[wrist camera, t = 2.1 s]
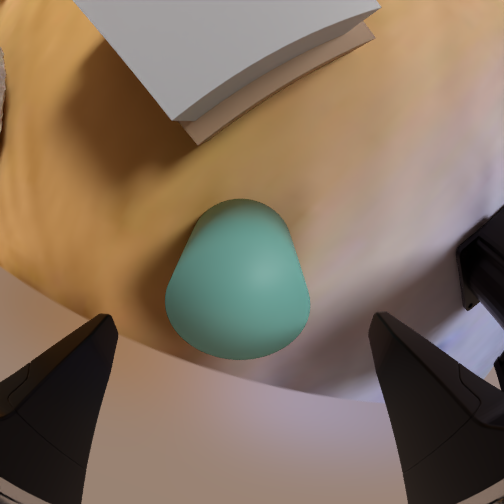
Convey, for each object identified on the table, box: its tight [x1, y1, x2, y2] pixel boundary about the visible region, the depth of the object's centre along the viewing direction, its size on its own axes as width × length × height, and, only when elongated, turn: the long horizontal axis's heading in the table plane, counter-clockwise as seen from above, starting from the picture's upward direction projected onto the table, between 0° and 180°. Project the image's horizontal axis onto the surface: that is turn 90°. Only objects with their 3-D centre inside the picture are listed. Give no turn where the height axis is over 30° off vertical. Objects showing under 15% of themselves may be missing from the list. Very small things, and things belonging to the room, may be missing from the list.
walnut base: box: [178, 21, 375, 145], centre depth 8 cm, size 8×8×3 cm
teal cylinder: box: [165, 199, 310, 360], centre depth 11 cm, size 5×5×5 cm
